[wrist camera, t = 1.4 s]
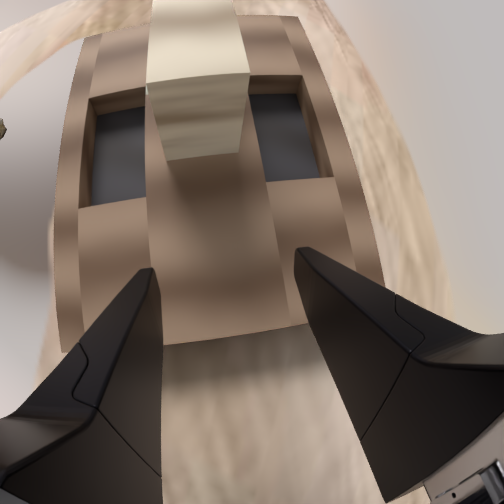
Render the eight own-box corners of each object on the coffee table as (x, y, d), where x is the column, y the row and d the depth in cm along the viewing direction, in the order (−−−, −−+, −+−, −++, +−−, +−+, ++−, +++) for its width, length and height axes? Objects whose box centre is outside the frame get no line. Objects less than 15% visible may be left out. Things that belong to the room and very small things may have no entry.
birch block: (238, 152, 21) (250, 72, 13) (166, 161, 20) (146, 83, 13) (222, 57, 23) (227, -17, 15) (164, 63, 22) (154, -11, 15)
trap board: (369, 307, 23) (388, 305, 20) (79, 349, 20) (61, 352, 17) (292, 36, 29) (297, 16, 26) (91, 56, 26) (84, 38, 23)
